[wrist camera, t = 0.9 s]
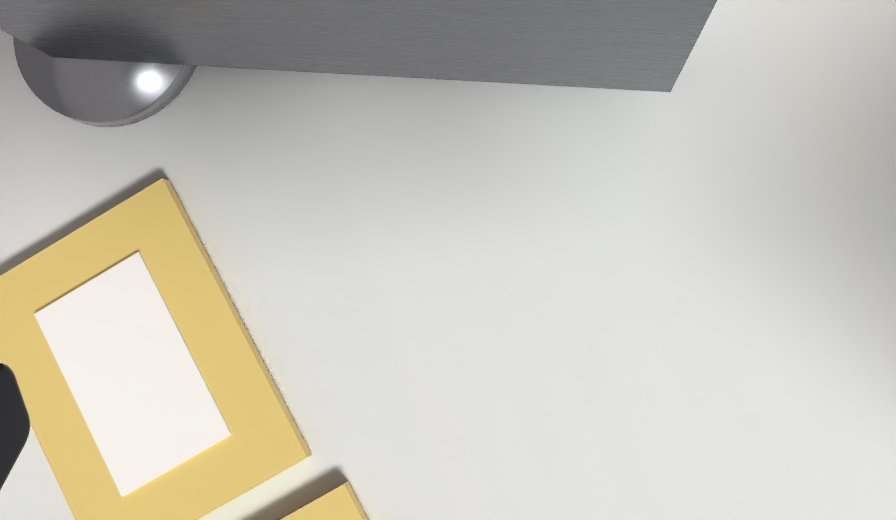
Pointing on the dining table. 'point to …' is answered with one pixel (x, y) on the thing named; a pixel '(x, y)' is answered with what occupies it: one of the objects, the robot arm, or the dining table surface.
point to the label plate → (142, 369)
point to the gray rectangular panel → (382, 37)
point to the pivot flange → (100, 86)
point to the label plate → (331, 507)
